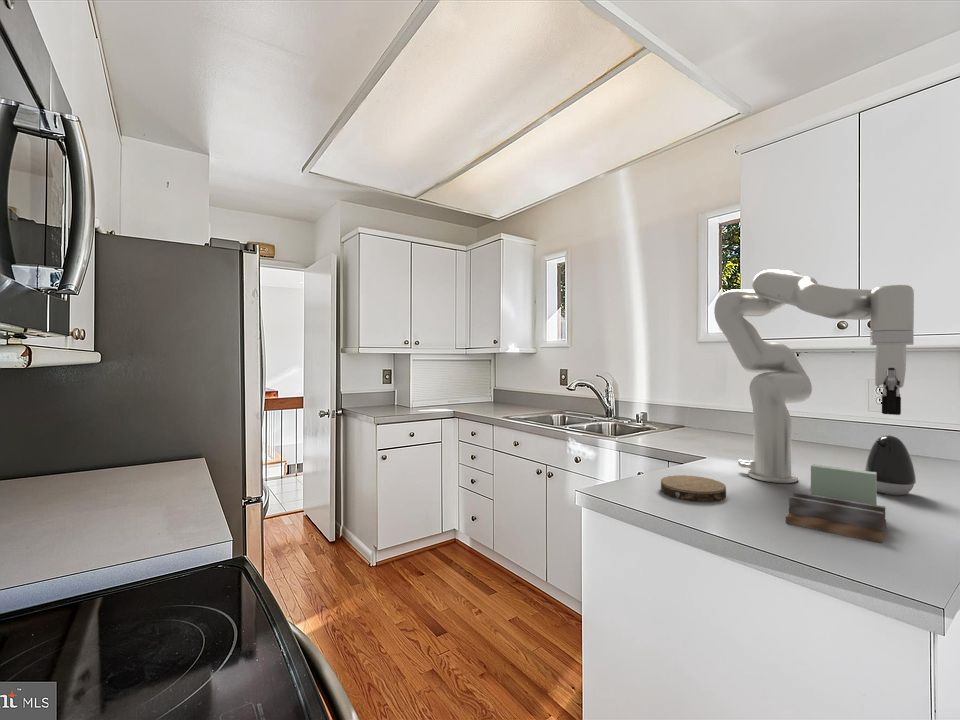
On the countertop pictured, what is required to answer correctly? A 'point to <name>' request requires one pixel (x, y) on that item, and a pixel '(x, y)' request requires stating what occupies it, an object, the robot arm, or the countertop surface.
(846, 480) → the door panel
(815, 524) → the track board
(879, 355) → the robot arm
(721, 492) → the brown flat round disc
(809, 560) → the countertop surface
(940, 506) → the countertop surface
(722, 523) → the countertop surface
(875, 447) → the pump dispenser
